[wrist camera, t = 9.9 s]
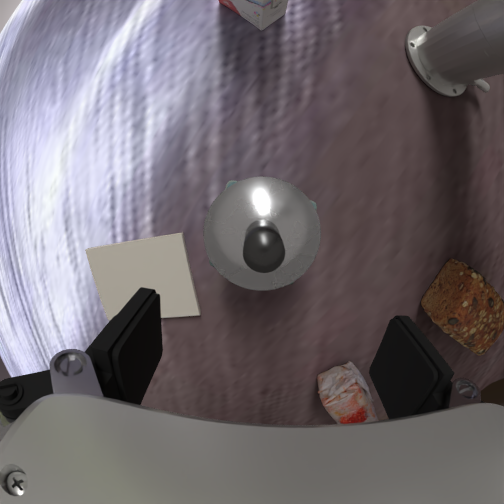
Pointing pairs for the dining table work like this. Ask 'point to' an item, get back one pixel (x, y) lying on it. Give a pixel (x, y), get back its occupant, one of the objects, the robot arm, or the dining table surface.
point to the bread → (465, 306)
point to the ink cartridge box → (258, 10)
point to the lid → (262, 233)
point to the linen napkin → (145, 274)
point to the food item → (346, 395)
